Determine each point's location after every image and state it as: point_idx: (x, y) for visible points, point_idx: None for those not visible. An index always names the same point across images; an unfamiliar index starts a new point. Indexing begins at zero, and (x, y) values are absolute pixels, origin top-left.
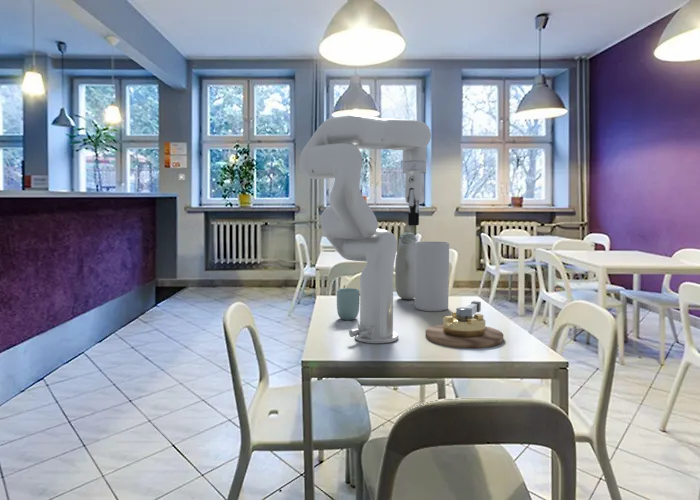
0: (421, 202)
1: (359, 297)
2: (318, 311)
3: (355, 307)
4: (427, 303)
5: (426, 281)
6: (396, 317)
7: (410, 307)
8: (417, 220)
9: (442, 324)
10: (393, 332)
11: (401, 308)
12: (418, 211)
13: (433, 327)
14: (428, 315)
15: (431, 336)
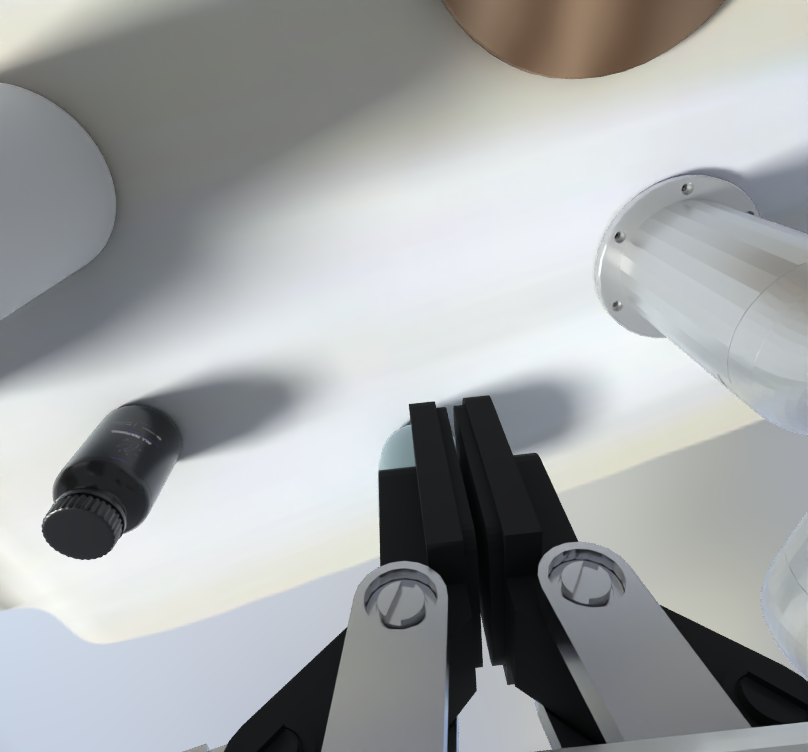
0: (758, 736)
1: (410, 463)
2: (345, 568)
3: None
4: (100, 193)
5: (38, 229)
6: (315, 291)
7: (70, 293)
8: (505, 444)
9: (469, 14)
10: (647, 208)
11: (120, 325)
12: (367, 596)
13: (542, 49)
14: (201, 158)
15: (704, 21)
